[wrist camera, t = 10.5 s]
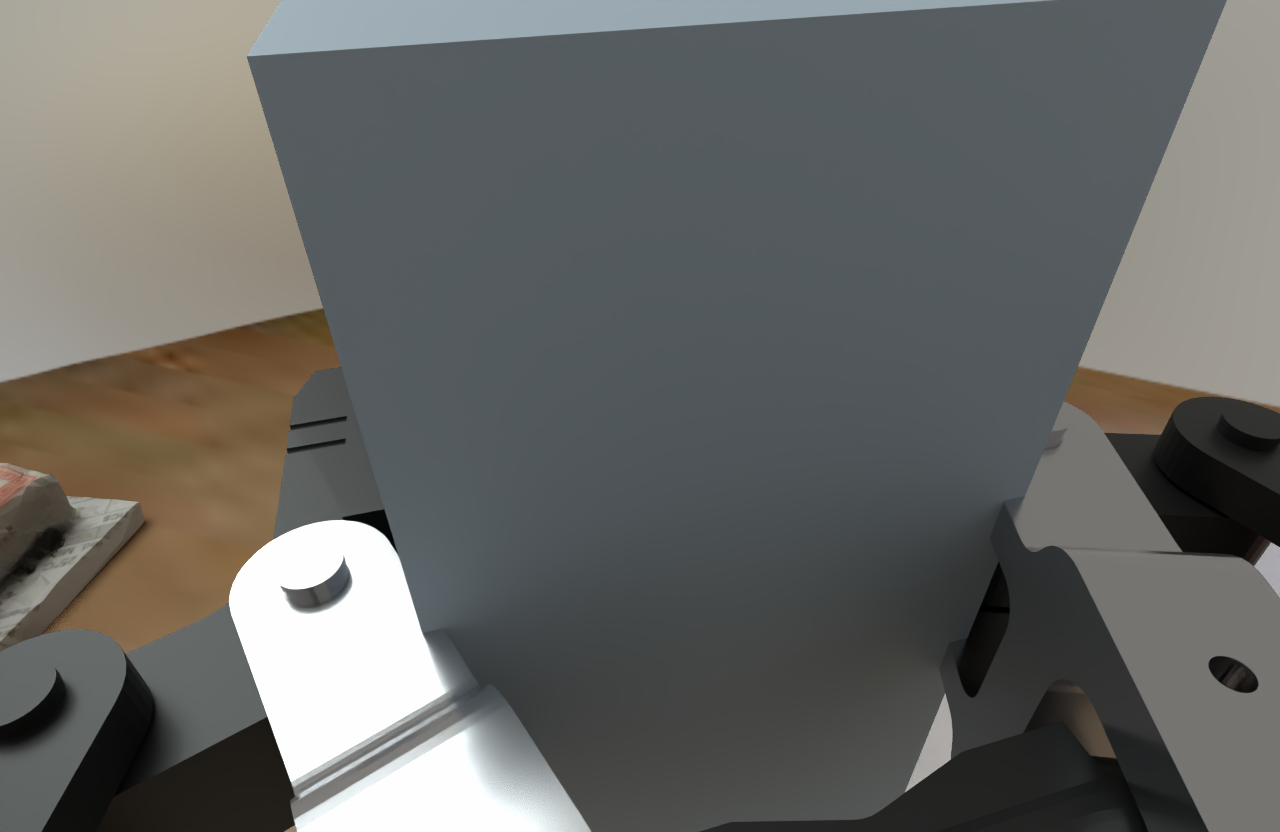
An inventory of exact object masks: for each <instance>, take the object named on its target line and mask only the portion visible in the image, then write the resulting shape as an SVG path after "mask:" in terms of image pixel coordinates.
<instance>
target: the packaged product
mask: <svg viewBox="0 0 1280 832" xmlns="http://www.w3.org/2000/svg"><path fill="white" fill-rule="evenodd" d="M143 523H144V517H143V514H142V510H141V506H140V503H139V502H133V501H123V500H115V499H98V498H90V497H71V496H66V495H65V493H64V491H63V490H62V488H61V486H60V484H59V482H58V481H57V480H56V479H55V478H54V476H53V475H52V474H48V475H45V474H43V473H40V472H37V471H31V470H27V469H24V468H20V467H17V466H14V465H11V464H9V463H0V652H1V651H3V650H5V649H6V648H9V647H11V646H13V645H15V644H18V643H20V642H22V641H25V640H28V639H31V638H34V637H37V636H39V635H40V634H41V633H42V632H43V631H44V630H45V629H46V628H47V627H48V626H49V625H50V624H51V623H52V622H53V621H54V620H55V618H56V617H57V616H58V615H59V614H60V613H61V612H62V611H63V610H64V609H65V608H66V607H67V606H68V605H69V604H70V603H71V602H72V600H73V599H74V598H75V597H76V596H77V595H78V594H79V593H80V592H81V591H82V590H83V589H84V587H85V586H86V585H87V584H88V583H89V582H90V581H91V580H92V579H93V578H94V577H95V576H96V575H97V573H98V572H99V571H100V570H101V569H102V568H103V567H104V566H105V565H106V564H107V563H108V562H109V560H110V559H111V558H112V557H113V556H114V555H115V554H116V553H117V552H118V551H119V550H120V549H121V548H122V546H123V545H124V544H125V543H126V542H127V541H128V540H129V539H130V538H131V537H132V536H133V535H134V533H135V532H136V531H137V530H138V529H139V528H140V526H141V525H142V524H143Z"/></svg>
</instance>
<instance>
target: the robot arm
mask: <svg viewBox="0 0 1280 832" xmlns="http://www.w3.org/2000/svg"><path fill="white" fill-rule="evenodd" d="M290 427H291V431H289V435H288V442H287V453H288V454H286V456H285V463H284V469H283V476H282V483H281V490H280V497H279V503H278V510H277V517H276V524H275V531H274V537H273V541H271V542H270V543H268V544H267V545H265V546H264V547H263V548H262V549H260V550H259V551H258V552H257V553H255V554H254V555H253V557H252V558H251V559H250V560H249V561H248V562H247V563H246V564H245V565H244V567H243V568H242V569H241V571H240V572H239V573H238V575H237V577H236V579H235V581H234V583H233V586H232V589H231V593H230V602H229V603H228V604H226V605H225V606H224V607H222V608H220V609H219V610H217V611H216V612H214V613H212V614H211V615H209V616H207V617H205V618H203V619H201V620H199V621H197V622H195V623H193V624H191V625H189V626H187V627H184V628H182V629H180V630H178V631H176V632H173V633H171V634H169V635H167V636H164V637H162V638H160V639H158V640H156V641H153V642H151V643H149V644H147V645H144V646H142V647H140V648H138V649H136V650H133V651H131V652H129V653H127V654H125V652H124V651H123V650H122V648H121V647H120V645H119V644H118V643H117V642H116V641H114V640H113V639H112V638H111V637H109V636H107V635H105V634H102V633H100V632H96V631H91V630H77V629H73V630H64V631H56V632H52V633H47V634H43V635H40V636H37V637H34V638H31V639H28V640H25V641H22V642H20V643H18V644H15V645H13V646H11V647H9V648H6V649H5V650H3V651H1V652H0V832H284V831H285V830H287V829H289V828H290V827H292V826H294V825H296V828H297V832H592V831H591V830H590V828H589V827H588V825H587V824H586V822H585V821H584V819H583V818H582V816H581V814H580V813H579V811H578V810H577V808H576V807H575V805H574V804H573V802H572V800H571V799H570V797H569V796H568V794H567V793H566V791H565V790H564V788H563V787H562V785H561V783H560V782H559V780H558V779H557V777H556V776H555V774H554V773H553V771H552V769H551V768H550V766H549V765H548V763H547V762H546V760H545V759H544V757H543V755H542V754H541V752H540V751H539V749H538V748H537V746H536V745H535V743H534V742H533V740H532V738H531V737H530V735H529V734H528V732H527V731H526V729H525V728H524V726H523V724H522V723H521V721H520V720H519V718H518V717H517V715H516V714H515V712H514V711H513V709H512V708H511V706H510V705H509V703H508V702H507V701H506V699H505V698H504V697H503V695H502V694H501V693H500V692H499V691H498V690H497V689H496V688H495V687H494V686H493V685H491V684H487V685H485V686H483V687H482V686H481V685H480V684H479V683H478V682H477V681H476V679H475V678H474V676H473V675H472V673H471V672H470V670H469V669H468V667H467V665H466V664H465V662H464V661H463V659H462V657H461V656H460V654H459V653H458V651H457V649H456V648H455V646H454V645H453V643H452V641H451V640H450V638H449V637H448V635H447V633H446V632H445V630H444V629H443V628H442V629H437V630H433V631H429V632H424V633H422V631H421V628H420V624H419V621H418V618H417V615H416V611H415V608H414V605H413V601H412V598H411V595H410V591H409V588H408V585H407V582H406V578H405V575H404V572H403V568H402V565H401V562H400V559H399V555H398V552H397V549H396V545H395V542H394V539H393V536H392V532H391V529H390V526H389V522H388V519H387V516H386V513H385V509H384V506H383V503H382V499H381V496H380V493H379V490H378V486H377V483H376V480H375V476H374V473H373V470H372V467H371V463H370V460H369V457H368V453H367V450H366V447H365V443H364V440H363V437H362V434H361V430H360V427H359V424H358V420H357V417H356V414H355V411H354V407H353V404H352V401H351V397H350V394H349V391H348V388H347V384H346V381H345V378H344V374H343V371H342V368H341V367H339V368H332V369H326V370H319V371H315V372H314V373H313V375H312V376H311V377H310V378H309V380H308V381H307V382H306V383H305V385H304V386H303V387H302V388H301V390H300V391H299V392H298V393H297V395H296V396H295V397H294V401H293V408H292V415H291V422H290ZM990 540H991V543H992V545H993V548H994V550H995V553H996V555H997V558H998V564H997V566H996V569H995V571H994V574H993V576H992V579H991V581H990V584H989V586H988V588H987V591H986V593H985V596H984V598H983V601H982V603H981V606H980V608H979V611H978V613H977V615H976V618H975V620H974V623H973V625H972V628H971V630H970V633H969V635H968V638H964V639H961V640H957V641H953V642H950V643H949V644H948V647H947V650H946V652H945V655H944V657H943V660H942V663H941V665H940V668H939V671H940V675H941V679H942V682H943V686H944V690H945V693H946V697H947V701H948V705H949V708H950V713H951V718H952V728H953V741H952V751H951V760H950V761H948V762H947V763H946V764H944V765H943V766H942V767H940V768H939V769H937V770H936V771H935V772H933V773H932V774H930V775H929V776H928V777H926V778H925V779H923V780H922V781H921V782H919V783H918V784H916V785H915V786H914V787H912V788H911V789H910V790H908V791H907V792H905V793H904V794H903V795H901V796H900V797H898V798H897V799H896V800H894V801H893V802H891V803H890V804H889V805H887V806H886V807H885V808H883V809H882V810H880V811H879V812H877V813H876V814H874V815H872V816H870V817H867V818H863V819H856V820H812V821H755V822H729V823H726V824H723V825H719V826H716V827H713V828H709V829H706V830H703V831H699V832H1280V598H1279V596H1278V595H1277V594H1276V592H1275V591H1274V590H1273V588H1272V587H1271V586H1270V584H1269V583H1268V582H1267V580H1266V579H1265V578H1264V577H1263V575H1262V574H1261V573H1260V572H1259V571H1258V570H1257V569H1256V568H1255V567H1254V565H1255V564H1256V563H1257V561H1258V560H1259V558H1260V557H1261V556H1262V554H1263V553H1264V551H1265V550H1266V549H1267V547H1268V546H1269V544H1270V543H1271V542H1272V543H1274V544H1275V545H1277V546H1279V547H1280V414H1279V413H1277V412H1275V411H1272V410H1270V409H1267V408H1264V407H1262V406H1259V405H1256V404H1252V403H1248V402H1245V401H1240V400H1235V399H1230V398H1222V397H1198V398H1193V399H1189V400H1186V401H1184V402H1182V403H1180V404H1179V405H1178V406H1177V407H1176V408H1175V410H1174V411H1173V413H1172V415H1171V417H1170V419H1169V421H1168V423H1167V425H1166V427H1165V429H1164V430H1163V432H1162V434H1161V435H1146V434H1118V433H1104V432H1103V431H1102V429H1101V428H1100V427H1099V425H1098V424H1097V423H1096V422H1095V421H1094V420H1093V419H1092V418H1091V417H1090V416H1088V415H1087V414H1085V413H1084V412H1083V411H1081V410H1079V409H1078V408H1076V407H1074V406H1072V405H1071V404H1068V403H1066V402H1063V404H1062V406H1061V409H1060V411H1059V414H1058V416H1057V419H1056V421H1055V424H1054V426H1053V429H1052V431H1051V434H1050V436H1049V438H1048V441H1047V443H1046V446H1045V448H1044V451H1043V453H1042V456H1041V458H1040V461H1039V463H1038V465H1037V468H1036V470H1035V473H1034V475H1033V478H1032V480H1031V483H1030V485H1029V488H1028V490H1027V493H1026V495H1025V496H1023V497H1018V498H1014V499H1009V500H1005V501H1004V502H1003V505H1002V507H1001V510H1000V512H999V515H998V518H997V520H996V523H995V525H994V528H993V530H992V533H991V536H990Z"/></svg>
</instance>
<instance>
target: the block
mask: <svg viewBox="0 0 1280 832" xmlns="http://www.w3.org/2000/svg"><path fill="white" fill-rule="evenodd" d="M1226 1H1227V0H281V2H280V4H279V5H278V7H277V8H276V10H275V12H274V13H273V15H272V16H271V18H270V20H269V22H268V23H267V24H266V26H265V28H264V29H263V31H262V33H261V34H260V36H259V38H258V39H257V41H256V42H255V44H254V45H253V47H252V49H251V50H250V52H249V54H248V55H247V59H248V62H249V65H250V68H251V72H252V75H253V78H254V81H255V85H256V88H257V91H258V95H259V98H260V101H261V104H262V108H263V111H264V115H265V118H266V121H267V124H268V128H269V131H270V134H271V137H272V141H273V143H274V147H275V151H276V154H277V157H278V161H279V164H280V167H281V171H282V174H283V177H284V180H285V184H286V187H287V190H288V194H289V196H290V200H291V203H292V207H293V210H294V213H295V217H296V220H297V223H298V226H299V230H300V233H301V236H302V240H303V243H304V246H305V249H306V253H307V256H308V259H309V263H310V266H311V269H312V272H313V276H314V279H315V282H316V285H317V289H318V292H319V295H320V299H321V302H322V305H323V309H324V312H325V315H326V319H327V322H328V325H329V328H330V332H331V335H332V338H333V342H334V345H335V348H336V351H337V355H338V358H339V361H340V365H341V368H342V371H343V374H344V378H345V381H346V384H347V388H348V391H349V394H350V397H351V401H352V404H353V407H354V411H355V414H356V417H357V420H358V424H359V427H360V430H361V434H362V437H363V440H364V443H365V447H366V450H367V453H368V457H369V460H370V463H371V467H372V470H373V473H374V476H375V480H376V483H377V486H378V490H379V493H380V496H381V499H382V503H383V506H384V509H385V513H386V516H387V519H388V522H389V526H390V529H391V532H392V536H393V539H394V542H395V545H396V549H397V552H398V555H399V559H400V562H401V565H402V568H403V572H404V575H405V578H406V582H407V585H408V588H409V591H410V595H411V598H412V601H413V605H414V608H415V611H416V615H417V618H418V621H419V624H420V628H421V631H422V633H424V632H429V631H433V630H437V629H442V628H443V629H444V630H445V632H446V633H447V635H448V637H449V638H450V640H451V641H452V643H453V645H454V646H455V648H456V649H457V651H458V653H459V654H460V656H461V657H462V659H463V661H464V662H465V664H466V665H467V667H468V669H469V670H470V672H471V673H472V675H473V676H474V678H475V679H476V681H477V682H478V683H479V684H480V685H481V686H482V687H483V686H485V685H487V684H491V685H493V686H494V687H495V688H496V689H497V690H498V691H499V692H500V693H501V694H502V695H503V697H504V698H505V699H506V701H507V702H508V703H509V705H510V706H511V708H512V709H513V711H514V712H515V714H516V715H517V717H518V718H519V720H520V721H521V723H522V724H523V726H524V728H525V729H526V731H527V732H528V734H529V735H530V737H531V738H532V740H533V742H534V743H535V745H536V746H537V748H538V749H539V751H540V752H541V754H542V755H543V757H544V759H545V760H546V762H547V763H548V765H549V766H550V768H551V769H552V771H553V773H554V774H555V776H556V777H557V779H558V780H559V782H560V783H561V785H562V787H563V788H564V790H565V791H566V793H567V794H568V796H569V797H570V799H571V800H572V802H573V804H574V805H575V807H576V808H577V810H578V811H579V813H580V814H581V816H582V818H583V819H584V821H585V822H586V824H587V825H588V827H589V828H590V830H591V831H592V832H699V831H703V830H706V829H709V828H713V827H716V826H719V825H723V824H726V823H729V822H755V821H812V820H856V819H863V818H867V817H870V816H872V815H874V814H876V813H877V812H879V811H880V810H882V809H883V808H885V807H886V806H887V805H889V804H890V803H891V802H893V801H894V800H896V799H897V798H898V797H900V796H901V795H903V794H904V793H905V790H906V788H907V785H908V783H909V780H910V778H911V775H912V773H913V770H914V768H915V765H916V763H917V761H918V758H919V756H920V753H921V751H922V748H923V746H924V743H925V741H926V738H927V736H928V734H929V731H930V729H931V726H932V724H933V721H934V719H935V716H936V714H937V711H938V709H939V706H940V704H941V702H942V699H943V697H944V694H945V690H944V686H943V682H942V679H941V675H940V671H939V668H940V665H941V663H942V660H943V657H944V655H945V652H946V650H947V647H948V644H949V643H950V642H953V641H957V640H961V639H964V638H968V635H969V633H970V630H971V628H972V625H973V623H974V620H975V618H976V615H977V613H978V611H979V608H980V606H981V603H982V601H983V598H984V596H985V593H986V591H987V588H988V586H989V584H990V581H991V579H992V576H993V574H994V571H995V569H996V566H997V564H998V558H997V555H996V553H995V550H994V548H993V545H992V543H991V540H990V536H991V533H992V530H993V528H994V525H995V523H996V520H997V518H998V515H999V512H1000V510H1001V507H1002V505H1003V502H1004V501H1005V500H1009V499H1014V498H1018V497H1023V496H1025V495H1026V493H1027V490H1028V488H1029V485H1030V483H1031V480H1032V478H1033V475H1034V473H1035V470H1036V468H1037V465H1038V463H1039V461H1040V458H1041V456H1042V453H1043V451H1044V448H1045V446H1046V443H1047V441H1048V438H1049V436H1050V434H1051V431H1052V429H1053V426H1054V424H1055V421H1056V419H1057V416H1058V414H1059V411H1060V409H1061V406H1062V404H1063V402H1064V399H1065V397H1066V394H1067V392H1068V389H1069V387H1070V384H1071V382H1072V379H1073V377H1074V375H1075V372H1076V370H1077V367H1078V365H1079V362H1080V360H1081V357H1082V355H1083V352H1084V350H1085V347H1086V345H1087V342H1088V340H1089V338H1090V335H1091V333H1092V330H1093V328H1094V325H1095V323H1096V320H1097V318H1098V316H1099V313H1100V310H1101V308H1102V306H1103V303H1104V301H1105V298H1106V296H1107V293H1108V291H1109V288H1110V286H1111V284H1112V281H1113V279H1114V276H1115V274H1116V271H1117V269H1118V266H1119V264H1120V261H1121V259H1122V256H1123V254H1124V251H1125V249H1126V247H1127V244H1128V242H1129V239H1130V237H1131V234H1132V232H1133V229H1134V227H1135V224H1136V222H1137V219H1138V217H1139V215H1140V212H1141V210H1142V207H1143V205H1144V202H1145V200H1146V197H1147V195H1148V192H1149V190H1150V187H1151V185H1152V183H1153V180H1154V178H1155V175H1156V173H1157V170H1158V168H1159V166H1160V163H1161V161H1162V158H1163V156H1164V153H1165V151H1166V148H1167V146H1168V143H1169V141H1170V138H1171V136H1172V134H1173V131H1174V129H1175V126H1176V124H1177V121H1178V119H1179V116H1180V114H1181V111H1182V109H1183V106H1184V104H1185V102H1186V99H1187V96H1188V94H1189V92H1190V89H1191V87H1192V84H1193V82H1194V79H1195V77H1196V74H1197V72H1198V70H1199V67H1200V65H1201V62H1202V60H1203V57H1204V55H1205V52H1206V50H1207V47H1208V45H1209V43H1210V40H1211V38H1212V35H1213V33H1214V30H1215V28H1216V25H1217V23H1218V20H1219V18H1220V16H1221V13H1222V11H1223V8H1224V6H1225V3H1226Z"/></svg>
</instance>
